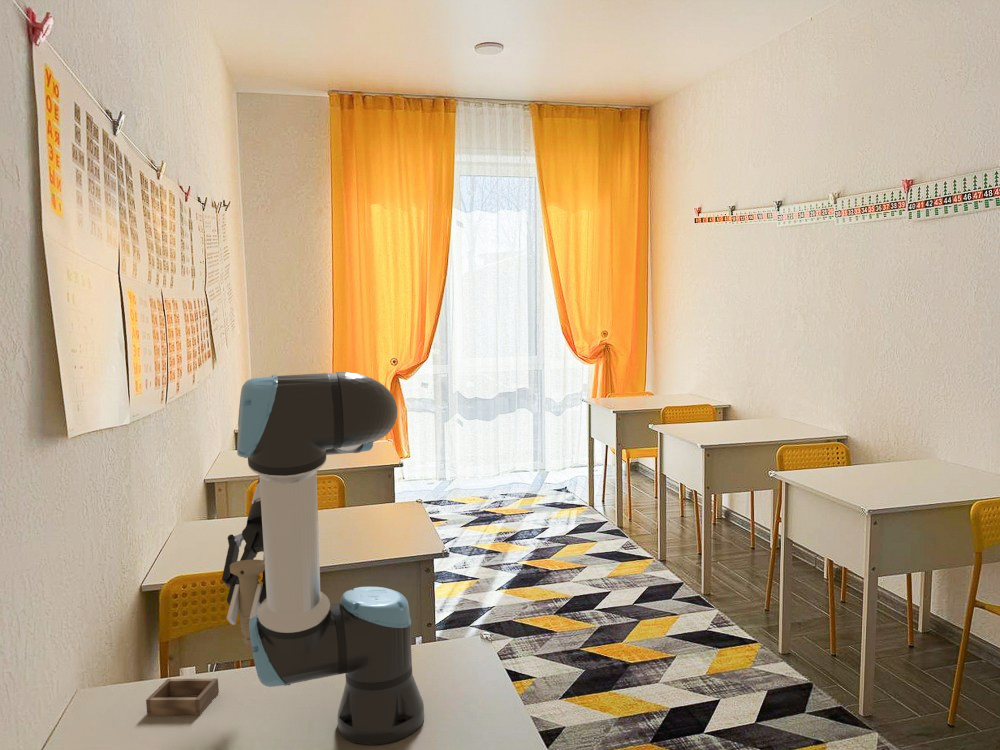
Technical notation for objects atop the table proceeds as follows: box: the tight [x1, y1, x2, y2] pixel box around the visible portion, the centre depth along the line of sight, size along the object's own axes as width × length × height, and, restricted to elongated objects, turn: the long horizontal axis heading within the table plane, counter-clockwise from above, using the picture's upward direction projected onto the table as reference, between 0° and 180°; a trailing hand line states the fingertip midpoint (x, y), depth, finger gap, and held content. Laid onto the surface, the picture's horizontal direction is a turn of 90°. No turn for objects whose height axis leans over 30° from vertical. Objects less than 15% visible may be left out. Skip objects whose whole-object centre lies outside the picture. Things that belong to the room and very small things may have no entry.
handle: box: [230, 559, 265, 646], centre depth 136 cm, size 5×6×15 cm
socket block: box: [145, 677, 220, 717], centre depth 138 cm, size 10×8×3 cm
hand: (242, 621), depth 132 cm, fingers closed on handle, 3 cm apart
